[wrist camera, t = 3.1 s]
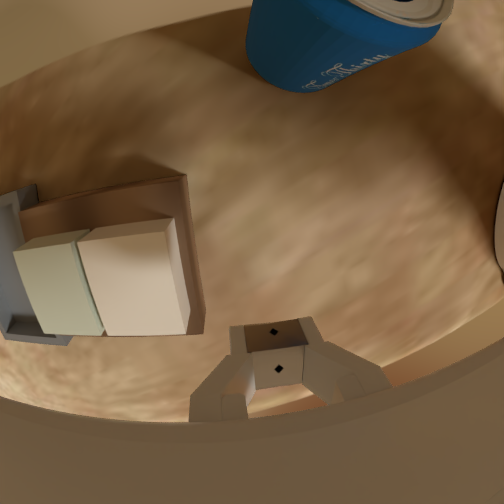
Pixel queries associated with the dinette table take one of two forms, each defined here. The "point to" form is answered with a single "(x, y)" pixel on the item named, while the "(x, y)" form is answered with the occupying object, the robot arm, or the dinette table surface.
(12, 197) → the box
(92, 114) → the dinette table surface
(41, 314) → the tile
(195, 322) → the walnut plate
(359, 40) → the beverage can
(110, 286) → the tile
